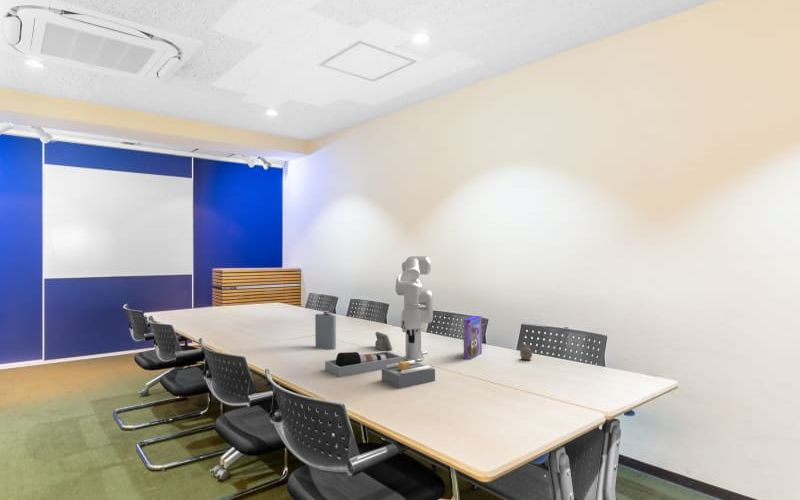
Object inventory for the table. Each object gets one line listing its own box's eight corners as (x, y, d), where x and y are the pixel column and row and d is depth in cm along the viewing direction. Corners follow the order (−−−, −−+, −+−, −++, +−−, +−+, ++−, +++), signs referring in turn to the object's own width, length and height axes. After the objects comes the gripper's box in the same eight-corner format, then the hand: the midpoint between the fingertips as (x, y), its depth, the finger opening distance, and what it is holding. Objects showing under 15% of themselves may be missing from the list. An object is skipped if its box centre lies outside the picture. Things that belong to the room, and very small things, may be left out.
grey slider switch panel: (416, 373, 241) (416, 362, 241) (435, 380, 228) (435, 368, 228) (381, 380, 229) (381, 368, 229) (399, 388, 216) (399, 375, 216)
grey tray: (387, 359, 272) (387, 351, 272) (403, 365, 258) (403, 356, 258) (325, 370, 249) (325, 361, 249) (338, 377, 235) (338, 367, 235)
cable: (392, 371, 261) (397, 358, 258) (340, 375, 242) (346, 360, 239) (384, 360, 269) (389, 347, 265) (334, 363, 249) (339, 348, 246)
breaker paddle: (405, 367, 230) (405, 360, 230) (409, 369, 227) (409, 362, 227) (398, 368, 228) (398, 362, 228) (403, 370, 224) (403, 363, 224)
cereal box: (470, 359, 271) (470, 319, 271) (463, 358, 274) (463, 319, 274) (481, 353, 286) (481, 316, 286) (474, 352, 288) (474, 315, 288)
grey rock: (393, 350, 295) (393, 334, 295) (379, 351, 292) (379, 335, 292) (386, 345, 310) (386, 330, 310) (373, 346, 308) (373, 331, 308)
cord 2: (428, 368, 229) (428, 364, 229) (431, 369, 227) (431, 365, 227) (399, 374, 219) (399, 370, 219) (402, 375, 217) (402, 371, 217)
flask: (337, 348, 302) (337, 311, 302) (333, 349, 298) (332, 312, 298) (319, 345, 312) (319, 309, 312) (314, 346, 308) (314, 310, 308)
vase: (525, 361, 266) (525, 346, 266) (517, 359, 272) (517, 344, 272) (534, 360, 269) (534, 345, 269) (526, 357, 275) (526, 343, 275)
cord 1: (413, 363, 240) (413, 359, 240) (416, 363, 238) (416, 360, 238) (385, 368, 230) (385, 364, 230) (387, 369, 228) (387, 365, 228)
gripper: (418, 305, 237) (418, 339, 237) (395, 307, 228) (395, 343, 228) (427, 306, 231) (427, 342, 231) (403, 308, 222) (403, 345, 222)
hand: (411, 342), depth 230 cm, fingers closed
